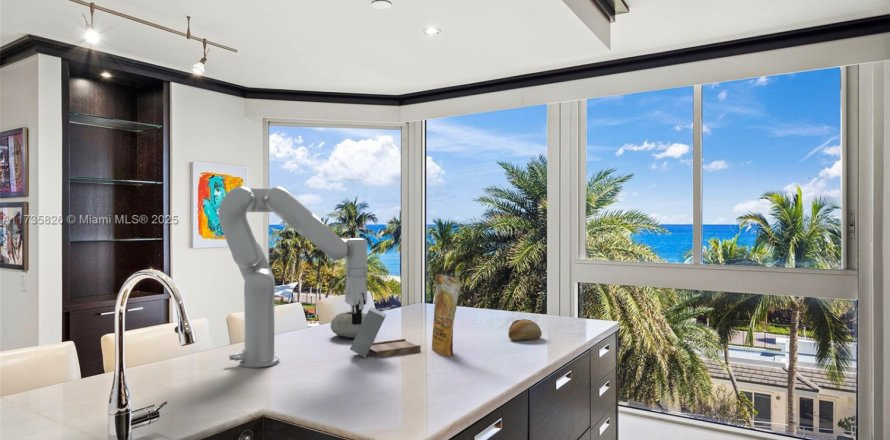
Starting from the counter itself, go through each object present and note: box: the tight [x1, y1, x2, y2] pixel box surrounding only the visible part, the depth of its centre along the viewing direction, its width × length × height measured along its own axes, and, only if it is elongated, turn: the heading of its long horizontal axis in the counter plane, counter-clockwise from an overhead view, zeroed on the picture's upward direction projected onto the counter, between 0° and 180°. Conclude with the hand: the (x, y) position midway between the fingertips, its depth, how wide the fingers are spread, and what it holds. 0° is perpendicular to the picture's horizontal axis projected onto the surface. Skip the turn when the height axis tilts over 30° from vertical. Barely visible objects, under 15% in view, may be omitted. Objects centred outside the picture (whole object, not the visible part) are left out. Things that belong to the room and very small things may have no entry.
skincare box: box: [349, 306, 387, 359], centre depth 187 cm, size 8×7×16 cm
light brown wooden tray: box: [368, 338, 422, 358], centre depth 194 cm, size 17×13×2 cm
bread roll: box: [507, 318, 542, 341], centre depth 214 cm, size 10×15×8 cm, turn 115°
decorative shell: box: [330, 310, 367, 339], centre depth 218 cm, size 18×18×10 cm
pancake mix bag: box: [431, 273, 462, 358], centre depth 193 cm, size 7×19×28 cm, turn 22°
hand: (356, 323), depth 187 cm, fingers closed
